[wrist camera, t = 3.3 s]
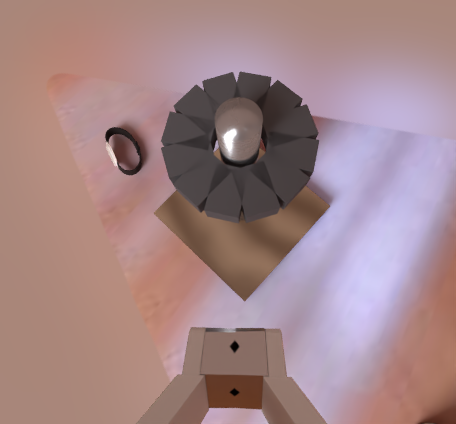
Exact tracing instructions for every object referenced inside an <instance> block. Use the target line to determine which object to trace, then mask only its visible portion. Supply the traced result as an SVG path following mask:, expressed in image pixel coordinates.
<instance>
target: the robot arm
mask: <svg viewBox="0 0 456 424" xmlns="http://www.w3.org/2000/svg"><path fill="white" fill-rule="evenodd" d="M209 408H245V409H262V412H263V414H264V416H265V418H266V419H267V421H268V423H269V424H327V423H326V422H325V420H324V419H323V418H322V416H321V415H320V414H319V412H318V411H317V410H316V409H315V407H314V406H313V405H312V403H311V402H310V401H309V399H308V398H307V397H306V395H305V394H304V393H303V391H302V390H301V389H300V388H299V386H298V385H297V384H296V382H295V381H294V380H293V378H292V377H287V373H286V365H285V357H284V349H283V341H282V333H281V330H280V329H265V328H235V329H225V328H196V327H191V329H190V331H189V336H188V342H187V348H186V354H185V359H184V365H183V371H182V375H177V376H176V377H175V378H174V379H173V380H172V382H171V383H170V384H169V385H168V386H167V388H166V389H165V390H164V391H163V392H162V394H161V395H160V396H159V397H158V398H157V400H156V401H155V402H154V403H153V404H152V405H151V407H150V408H149V409H148V410H147V412H146V413H145V414H144V415H143V416H142V417H141V419H140V420H139V421H138V422H137V423H136V424H201V422H202V420H203V419H204V417H205V415H206V414H207V412H208V410H209Z"/></svg>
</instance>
